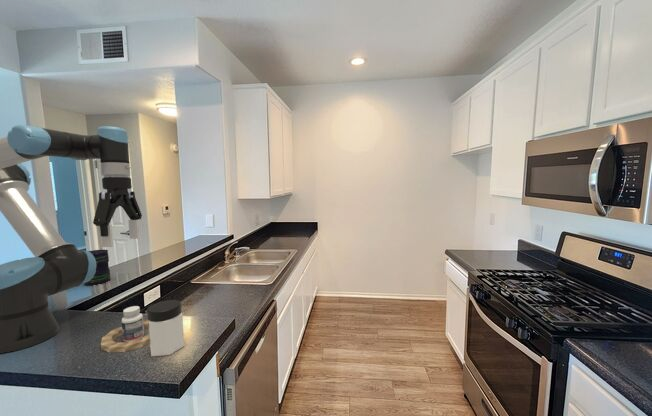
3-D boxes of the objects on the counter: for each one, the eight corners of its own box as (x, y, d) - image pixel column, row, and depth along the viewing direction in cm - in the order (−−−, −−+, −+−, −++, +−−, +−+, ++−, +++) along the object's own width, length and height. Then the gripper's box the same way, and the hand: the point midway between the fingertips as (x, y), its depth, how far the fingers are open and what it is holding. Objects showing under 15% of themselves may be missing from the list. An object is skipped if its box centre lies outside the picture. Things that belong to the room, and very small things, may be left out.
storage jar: (110, 277, 142) (107, 248, 141) (111, 282, 134) (108, 251, 133) (84, 282, 135) (81, 251, 134) (83, 287, 128) (80, 255, 127)
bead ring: (87, 354, 76) (87, 348, 76) (123, 326, 91) (123, 321, 91) (146, 350, 77) (146, 345, 77) (172, 323, 92) (172, 319, 92)
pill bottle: (125, 335, 85) (123, 306, 84) (145, 331, 87) (143, 303, 86) (120, 344, 80) (118, 314, 80) (142, 340, 82) (140, 310, 82)
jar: (190, 338, 82) (187, 298, 81) (178, 355, 74) (175, 311, 73) (157, 340, 82) (154, 300, 81) (142, 358, 74) (138, 313, 73)
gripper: (101, 175, 78) (107, 250, 80) (150, 177, 103) (154, 235, 105) (72, 175, 78) (79, 251, 79) (128, 178, 102) (133, 236, 104)
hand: (122, 242), depth 92 cm, fingers open, 13 cm apart
